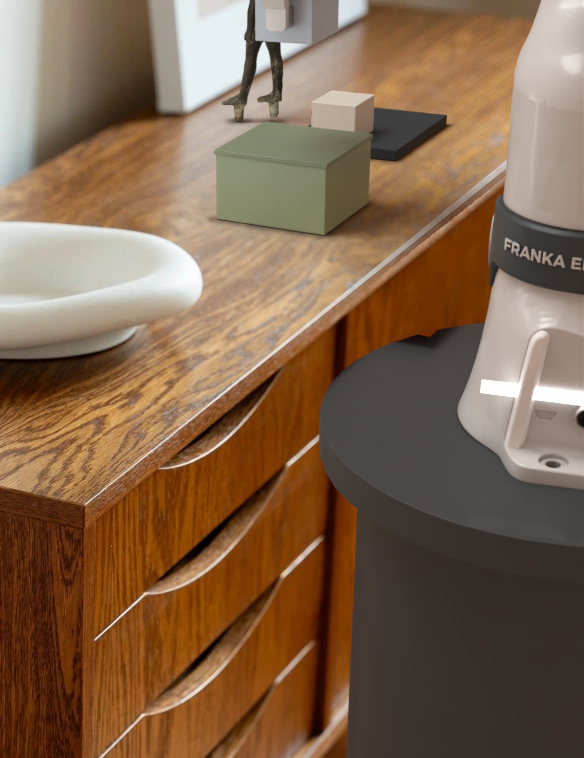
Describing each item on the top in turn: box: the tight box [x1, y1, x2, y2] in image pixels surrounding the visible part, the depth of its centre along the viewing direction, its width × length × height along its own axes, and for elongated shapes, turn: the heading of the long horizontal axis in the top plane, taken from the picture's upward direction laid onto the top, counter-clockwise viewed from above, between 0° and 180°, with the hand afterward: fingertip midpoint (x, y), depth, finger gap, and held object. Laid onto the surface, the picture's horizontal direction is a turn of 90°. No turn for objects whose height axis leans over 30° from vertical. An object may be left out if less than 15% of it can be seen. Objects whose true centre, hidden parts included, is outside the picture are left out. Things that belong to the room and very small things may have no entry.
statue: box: [221, 0, 284, 122], centre depth 148 cm, size 5×6×20 cm
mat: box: [307, 106, 448, 162], centre depth 146 cm, size 11×13×1 cm
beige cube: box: [310, 89, 376, 134], centre depth 142 cm, size 4×4×4 cm
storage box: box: [213, 121, 373, 236], centre depth 126 cm, size 10×9×6 cm
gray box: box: [255, 0, 340, 45], centre depth 119 cm, size 5×5×4 cm
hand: (297, 21), depth 120 cm, fingers closed on gray box, 5 cm apart
